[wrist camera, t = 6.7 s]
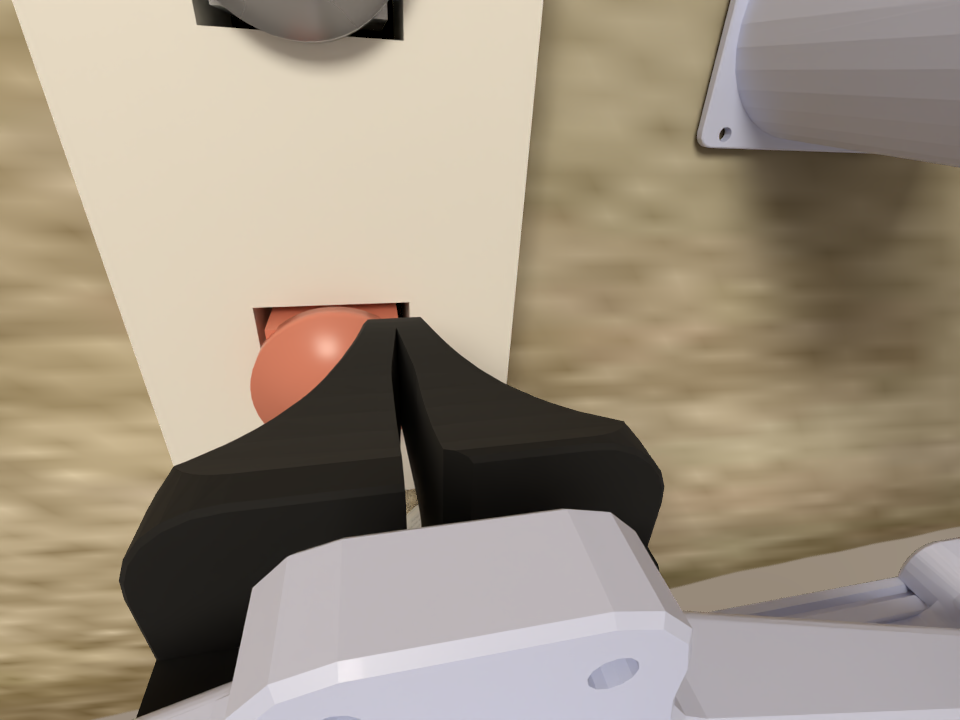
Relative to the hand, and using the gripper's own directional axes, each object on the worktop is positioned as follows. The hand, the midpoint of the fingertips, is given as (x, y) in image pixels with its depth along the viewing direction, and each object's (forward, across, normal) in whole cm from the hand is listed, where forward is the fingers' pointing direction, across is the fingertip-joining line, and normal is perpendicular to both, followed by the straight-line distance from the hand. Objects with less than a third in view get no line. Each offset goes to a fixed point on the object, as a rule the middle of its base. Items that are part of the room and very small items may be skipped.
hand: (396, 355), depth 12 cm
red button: (+8, +2, +3) cm, 9 cm away
